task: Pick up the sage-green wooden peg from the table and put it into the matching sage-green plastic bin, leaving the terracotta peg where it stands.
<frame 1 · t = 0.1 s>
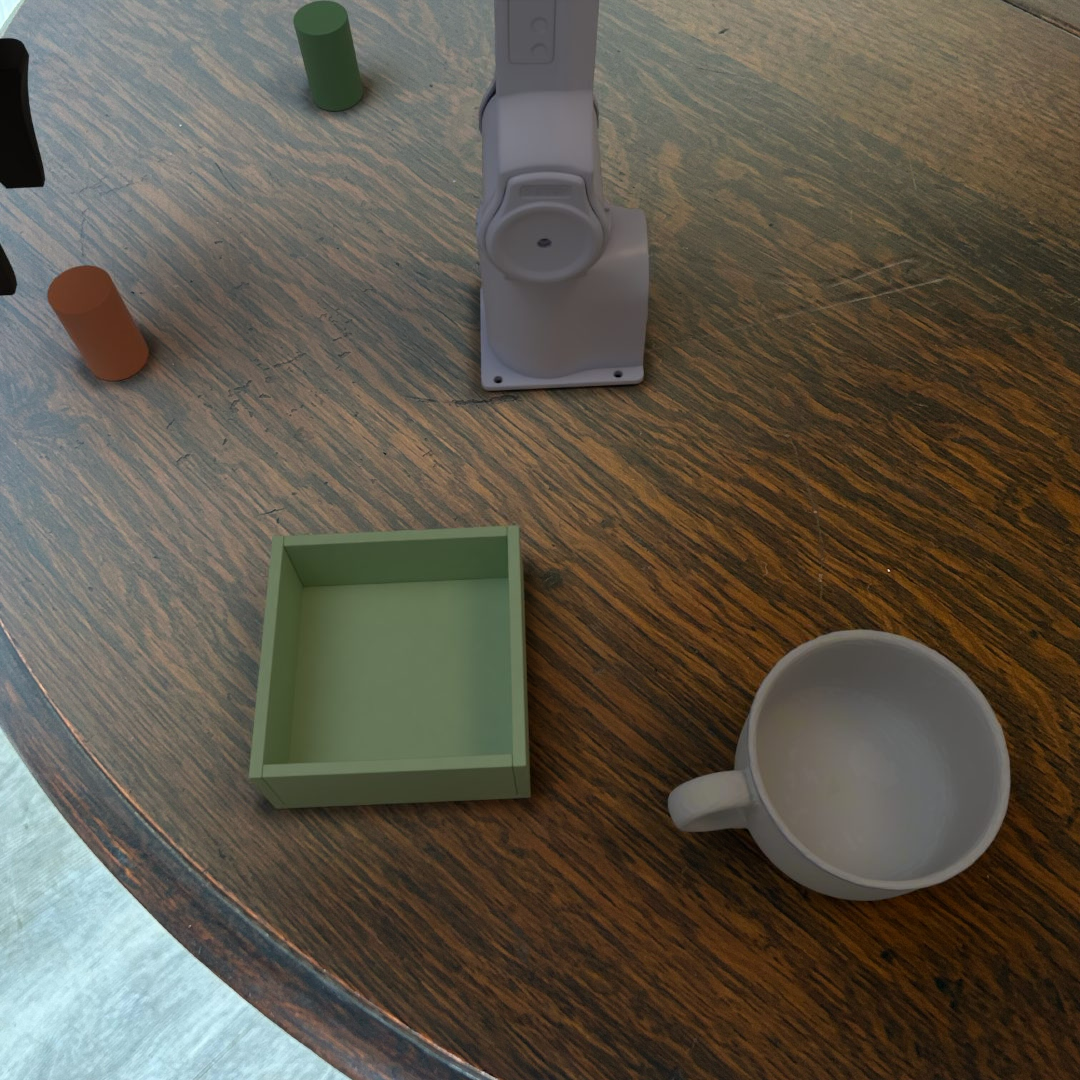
hand: (11, 235, 57), 10 cm above the table, tool pointing down, fingers open, 7 cm apart
teacup: (803, 806, 51), on the table
green bin: (406, 684, 55), on the table
terracotta peg: (119, 357, 65), on the table
green peg: (337, 94, 77), on the table
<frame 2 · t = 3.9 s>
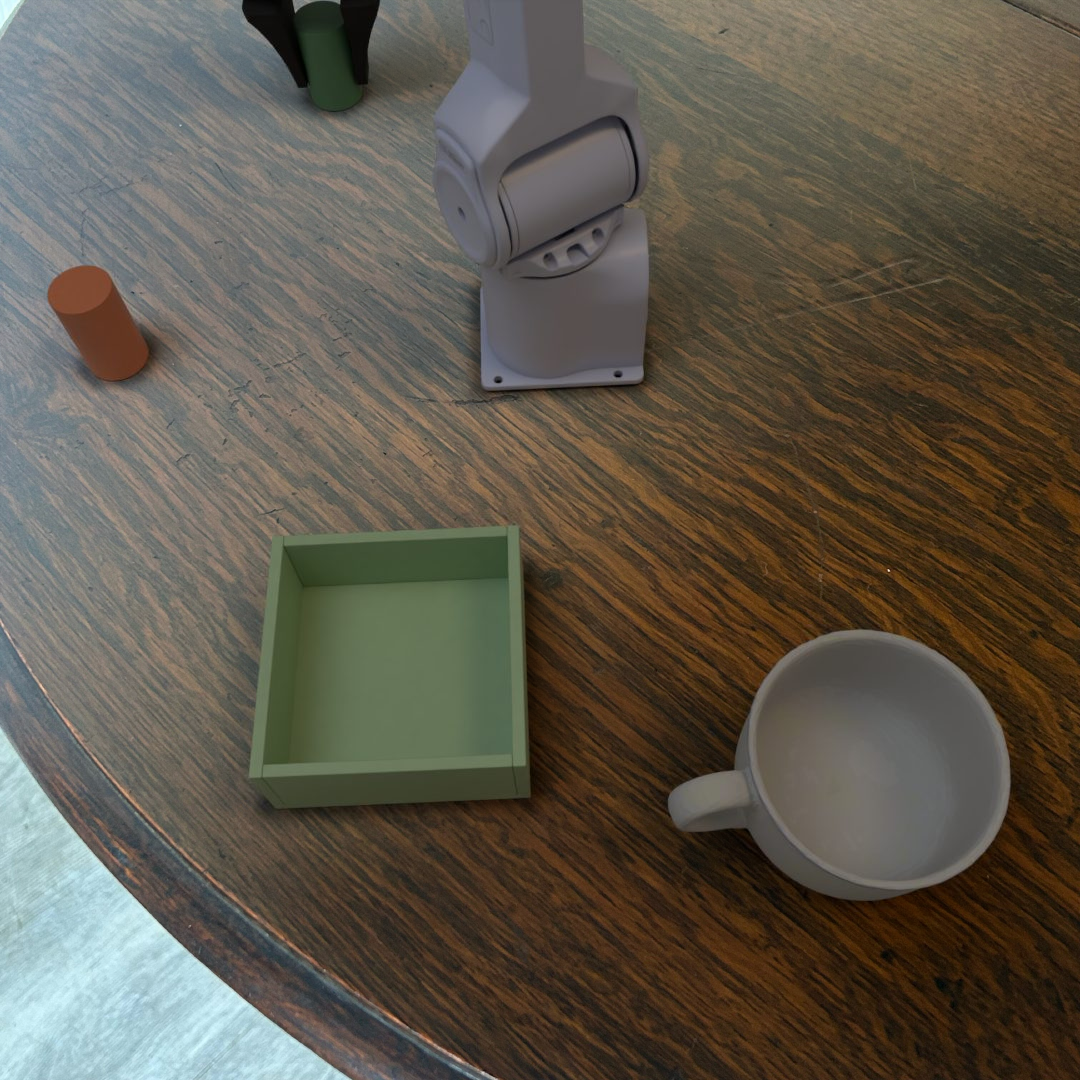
hand: (334, 77, 75), 1 cm above the table, tool pointing down, fingers closed on green peg, 3 cm apart
green peg: (337, 94, 77), on the table, touching gripper
everything else where it was.
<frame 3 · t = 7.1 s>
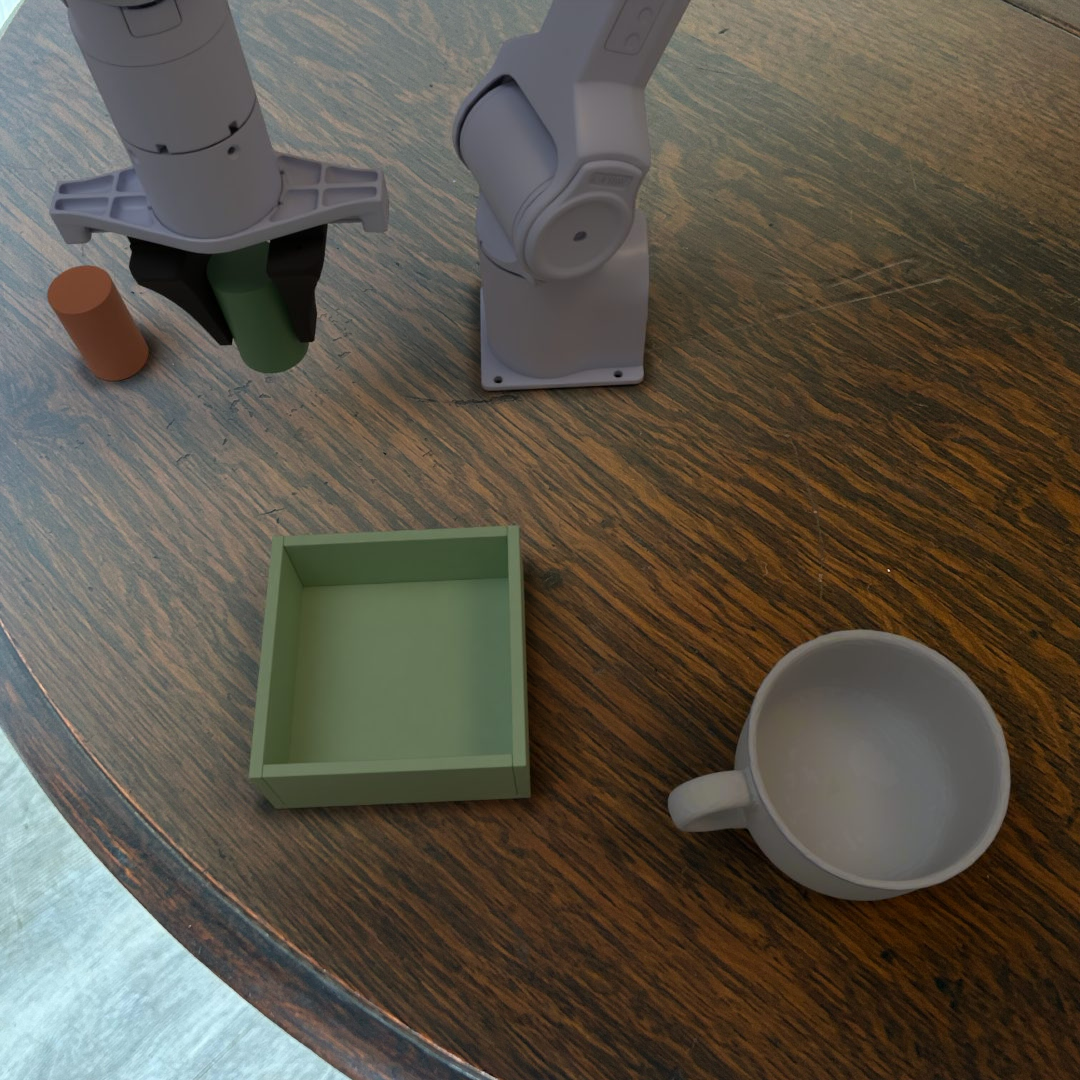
hand: (269, 328, 55), 8 cm above the table, tool pointing down, fingers closed on green peg, 3 cm apart
green peg: (274, 346, 57), point 7 cm above the table, touching gripper
everything else where it was.
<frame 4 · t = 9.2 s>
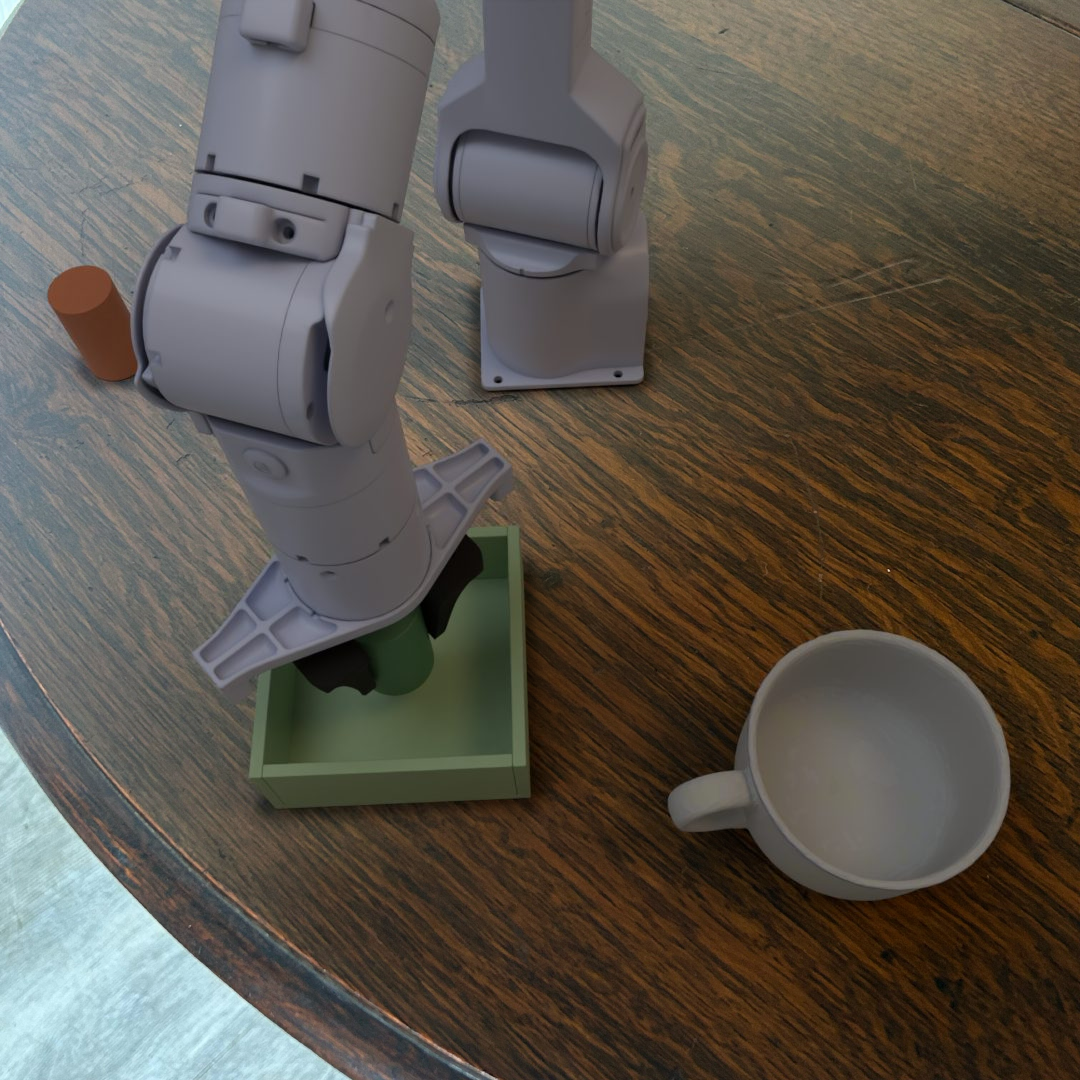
hand: (393, 648, 51), 4 cm above the table, tool pointing down, fingers closed on green peg, 3 cm apart
green peg: (396, 660, 52), point 3 cm above the table, touching gripper
everything else where it was.
when the fingers open (2 cm above the table, at t = 10.4 s): green peg stays where it is, resting on green bin.
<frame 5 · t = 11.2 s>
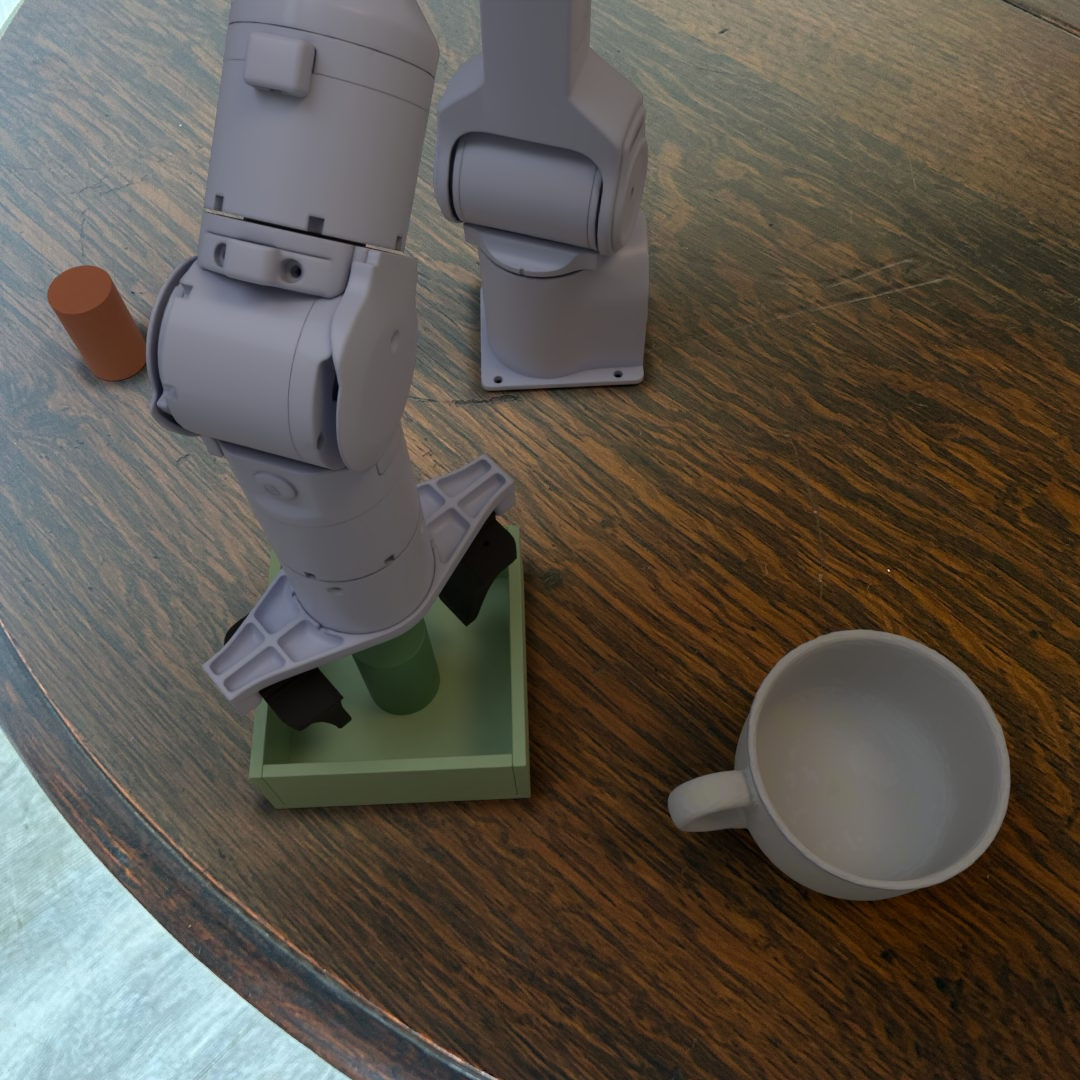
hand: (397, 658, 52), 3 cm above the table, tool pointing down, fingers open, 7 cm apart
green peg: (404, 681, 54), resting on green bin
everything else where it was.
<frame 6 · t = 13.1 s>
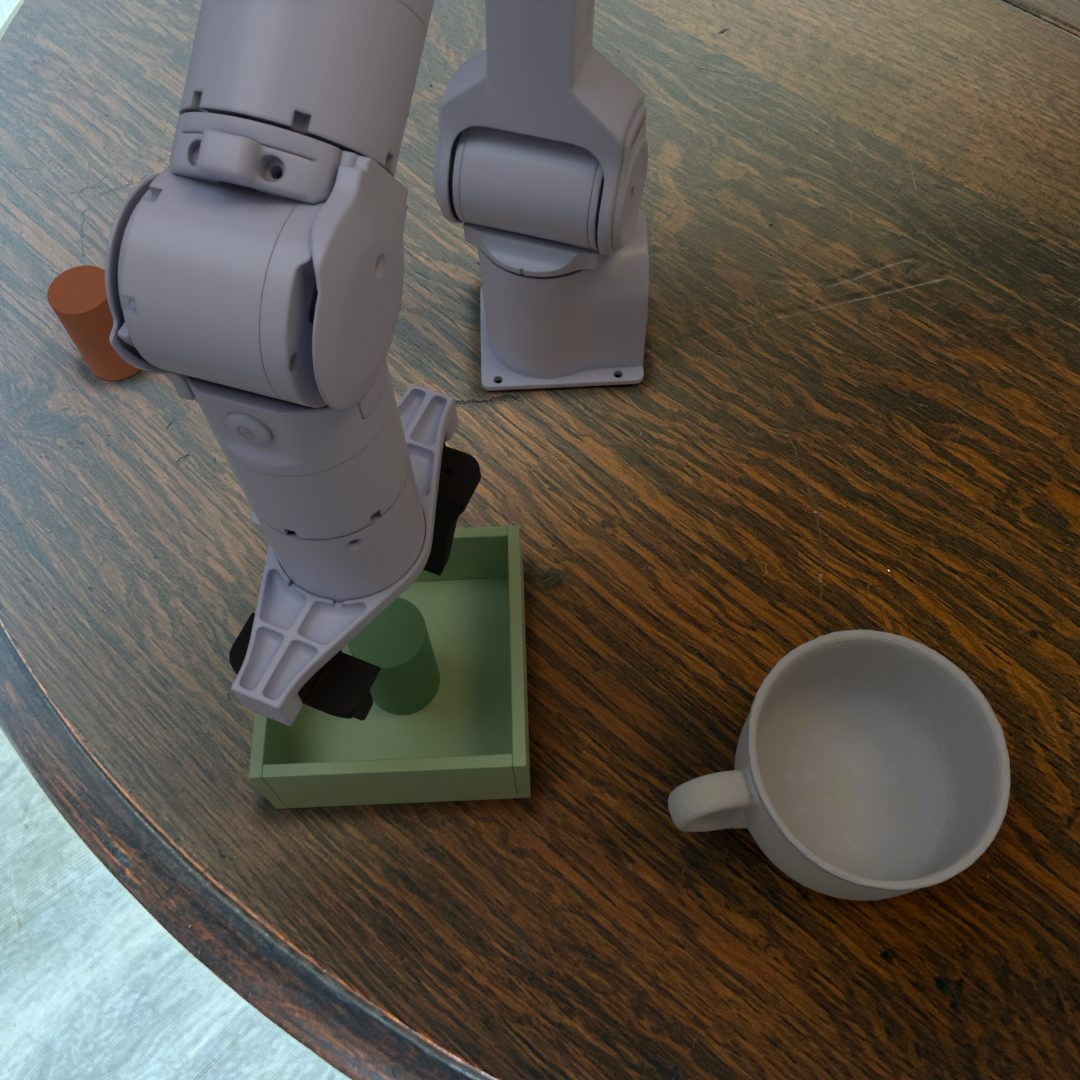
hand: (387, 632, 49), 6 cm above the table, tool pointing down, fingers open, 7 cm apart
nothing on the table moved.
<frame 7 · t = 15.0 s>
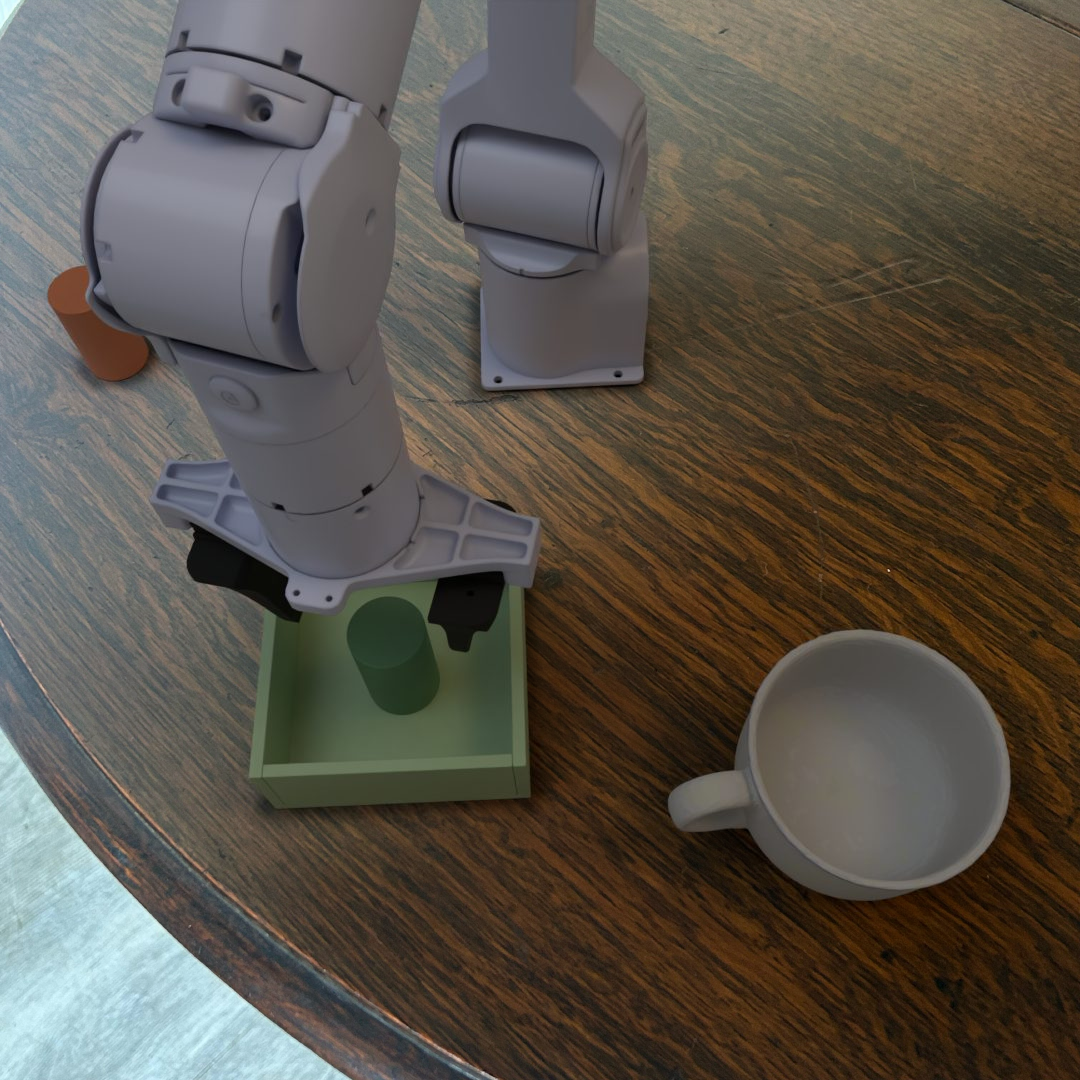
hand: (381, 616, 48), 8 cm above the table, tool pointing down, fingers open, 7 cm apart
nothing on the table moved.
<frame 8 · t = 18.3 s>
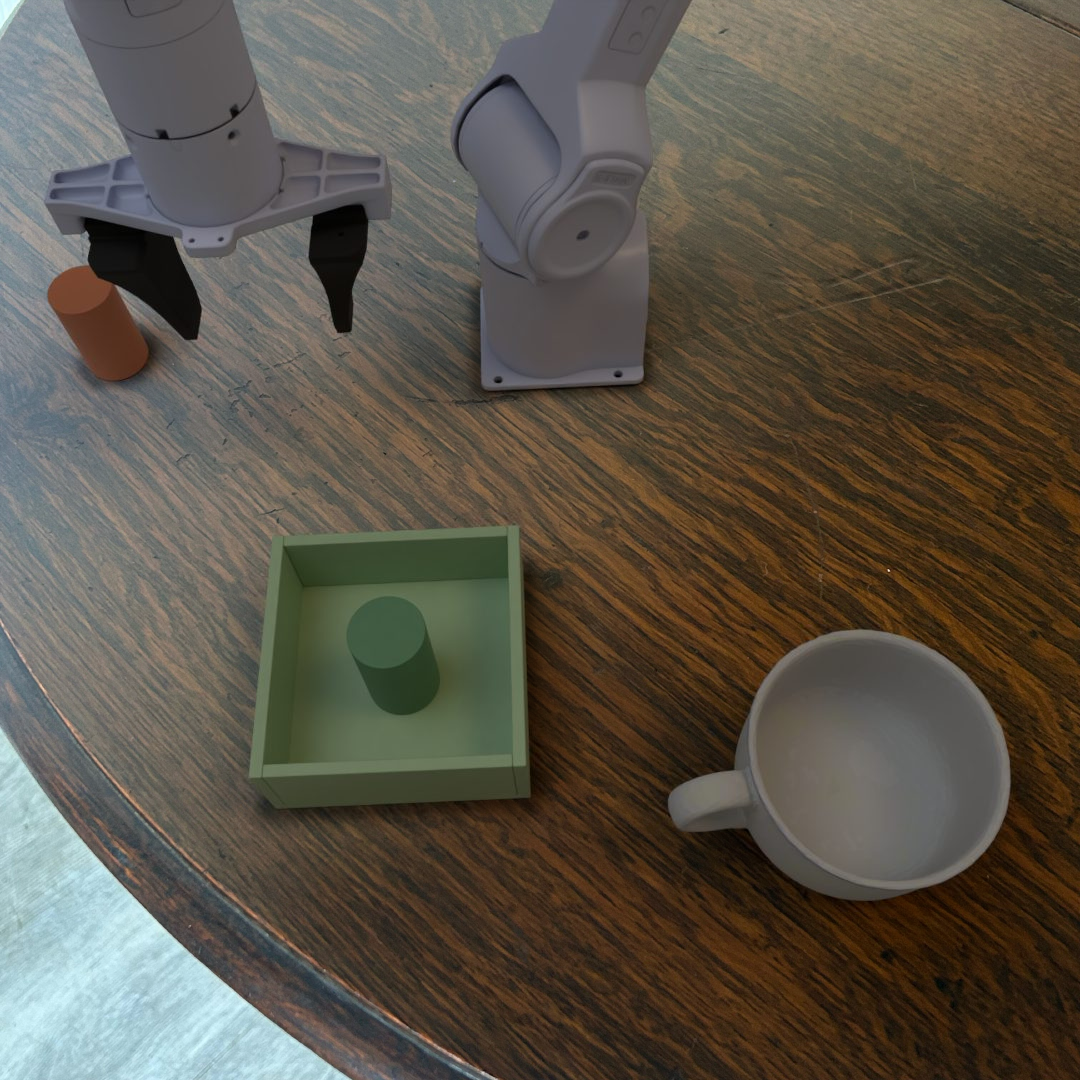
hand: (269, 321, 54), 9 cm above the table, tool pointing down, fingers open, 7 cm apart
nothing on the table moved.
at the end: green peg inside the target area in the green bin (0.0 cm from its centre), point 0.5 cm above the green bin's base; terracotta peg moved 0.0 cm from its start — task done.
